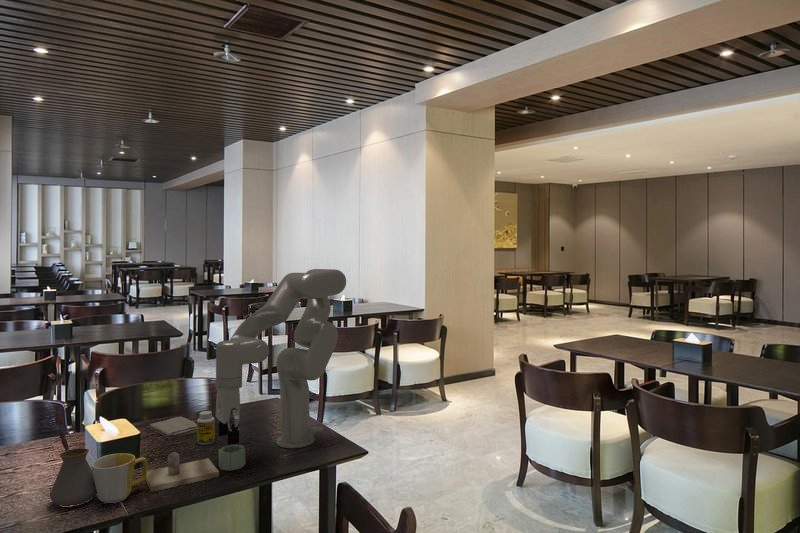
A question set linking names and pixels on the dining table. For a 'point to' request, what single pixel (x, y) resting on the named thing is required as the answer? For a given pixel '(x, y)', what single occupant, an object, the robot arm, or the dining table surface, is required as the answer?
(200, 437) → the supplement bottle
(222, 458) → the collar
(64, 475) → the coffee pot
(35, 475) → the dining table surface
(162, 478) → the post board
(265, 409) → the dining table surface
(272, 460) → the dining table surface
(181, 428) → the washcloth
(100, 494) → the mug
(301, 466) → the dining table surface
